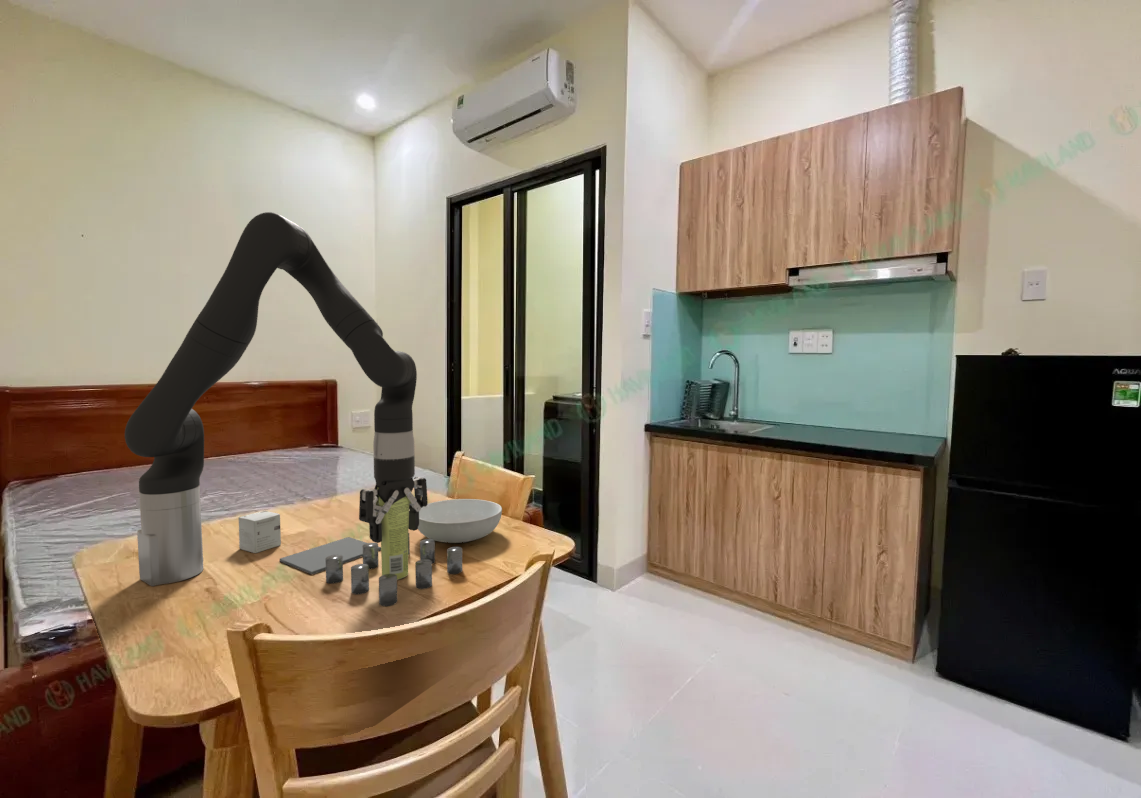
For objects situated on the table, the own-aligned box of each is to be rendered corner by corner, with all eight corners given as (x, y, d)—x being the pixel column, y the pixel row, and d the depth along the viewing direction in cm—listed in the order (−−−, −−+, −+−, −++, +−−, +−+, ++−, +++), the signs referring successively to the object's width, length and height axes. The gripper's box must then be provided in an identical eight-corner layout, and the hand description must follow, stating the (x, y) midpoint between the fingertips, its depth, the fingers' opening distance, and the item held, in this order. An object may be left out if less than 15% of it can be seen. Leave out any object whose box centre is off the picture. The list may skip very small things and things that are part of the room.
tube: (386, 569, 103) (384, 475, 102) (411, 569, 104) (410, 474, 102) (378, 582, 97) (376, 481, 96) (405, 581, 98) (404, 481, 97)
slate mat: (312, 574, 100) (311, 571, 100) (279, 561, 107) (279, 558, 107) (381, 549, 114) (381, 547, 114) (348, 539, 120) (348, 536, 120)
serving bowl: (517, 530, 128) (518, 503, 128) (467, 559, 109) (467, 528, 109) (451, 519, 137) (451, 493, 136) (394, 544, 118) (393, 514, 117)
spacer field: (386, 607, 87) (386, 582, 87) (322, 581, 98) (322, 558, 97) (465, 570, 103) (465, 548, 103) (403, 550, 114) (403, 531, 113)
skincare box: (255, 554, 111) (253, 521, 110) (238, 549, 114) (237, 516, 113) (281, 545, 116) (280, 513, 116) (265, 540, 119) (264, 509, 119)
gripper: (374, 462, 91) (376, 550, 92) (435, 450, 103) (436, 529, 104) (349, 457, 95) (351, 542, 96) (410, 447, 107) (411, 522, 108)
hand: (395, 535), depth 100 cm, fingers open, 8 cm apart
